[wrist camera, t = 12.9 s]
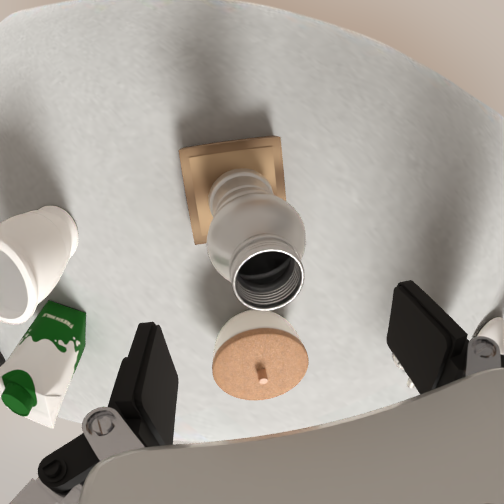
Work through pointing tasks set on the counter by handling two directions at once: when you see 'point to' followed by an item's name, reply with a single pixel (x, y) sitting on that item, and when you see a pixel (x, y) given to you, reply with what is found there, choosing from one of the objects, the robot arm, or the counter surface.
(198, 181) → the base slab
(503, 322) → the flower in vase
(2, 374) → the milk carton
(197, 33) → the counter surface
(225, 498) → the robot arm
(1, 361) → the french press
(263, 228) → the plastic bottle
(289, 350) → the lidded bowl
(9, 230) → the jar
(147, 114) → the counter surface
